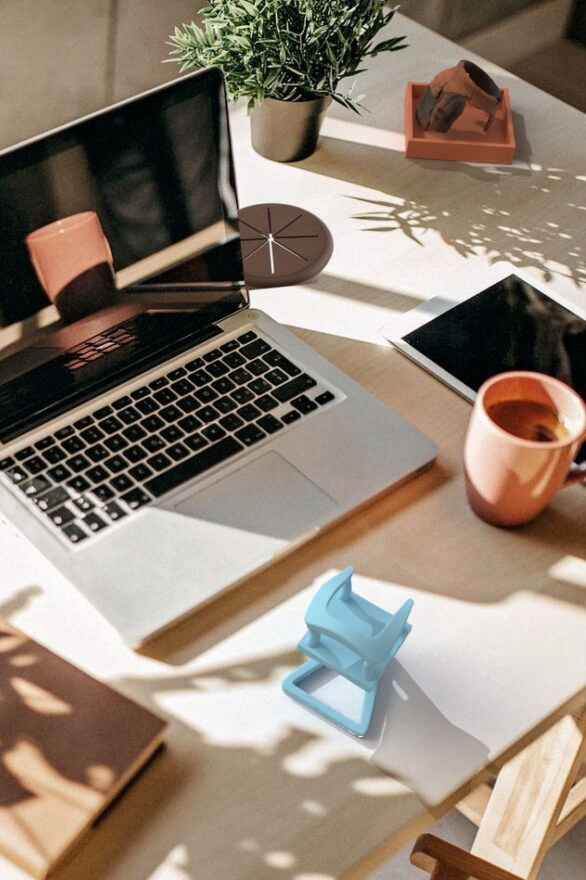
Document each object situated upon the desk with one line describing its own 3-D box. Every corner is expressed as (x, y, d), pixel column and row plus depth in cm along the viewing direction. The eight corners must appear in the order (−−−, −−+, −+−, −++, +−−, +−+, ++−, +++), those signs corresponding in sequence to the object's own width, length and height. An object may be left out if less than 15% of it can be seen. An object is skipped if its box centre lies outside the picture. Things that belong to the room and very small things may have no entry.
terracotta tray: (504, 105, 129) (508, 88, 127) (511, 164, 122) (515, 147, 120) (404, 98, 130) (407, 81, 128) (405, 157, 122) (408, 140, 120)
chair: (411, 662, 81) (437, 587, 71) (361, 740, 77) (381, 672, 67) (332, 616, 83) (346, 537, 74) (279, 689, 79) (287, 616, 70)
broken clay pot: (420, 97, 130) (461, 45, 124) (472, 145, 131) (516, 96, 125) (395, 121, 121) (439, 66, 115) (451, 173, 122) (497, 121, 116)
